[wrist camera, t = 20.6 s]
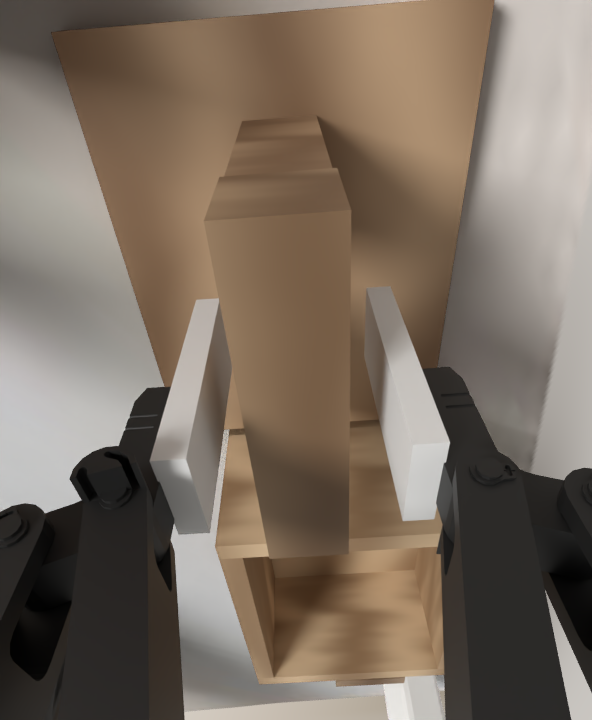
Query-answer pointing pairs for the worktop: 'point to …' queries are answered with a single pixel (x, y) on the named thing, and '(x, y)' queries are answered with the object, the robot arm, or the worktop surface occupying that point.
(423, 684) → the pepper shaker
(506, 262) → the worktop surface
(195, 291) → the wooden post stand
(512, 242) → the worktop surface
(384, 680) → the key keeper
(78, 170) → the worktop surface
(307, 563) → the open wooden box
